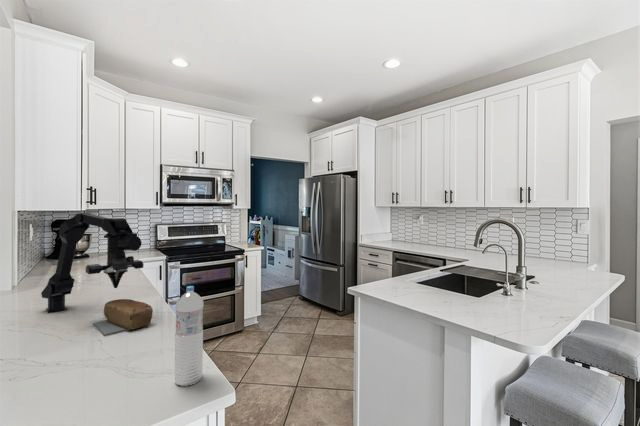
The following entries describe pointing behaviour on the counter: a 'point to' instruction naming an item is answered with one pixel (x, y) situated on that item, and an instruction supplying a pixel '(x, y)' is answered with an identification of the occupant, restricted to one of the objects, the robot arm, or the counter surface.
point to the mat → (109, 327)
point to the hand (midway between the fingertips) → (115, 287)
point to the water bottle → (189, 338)
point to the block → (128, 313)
